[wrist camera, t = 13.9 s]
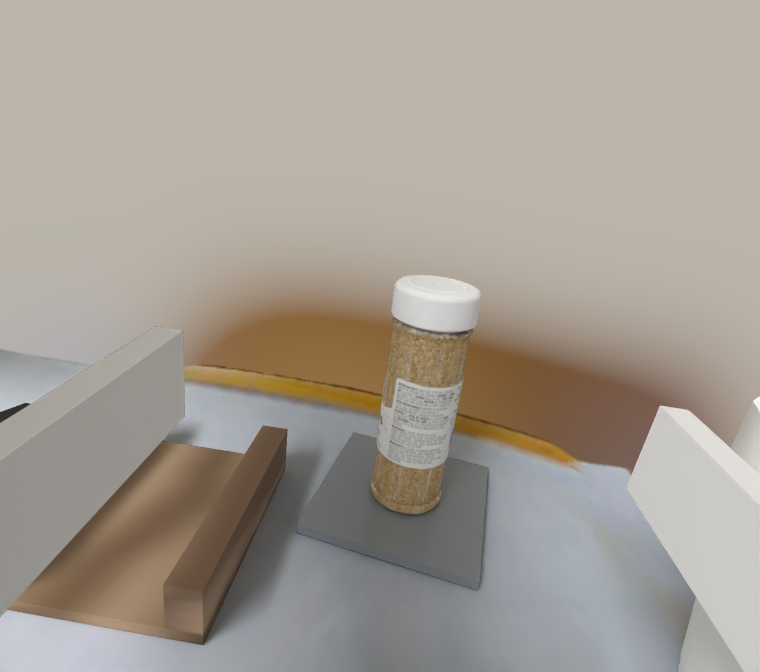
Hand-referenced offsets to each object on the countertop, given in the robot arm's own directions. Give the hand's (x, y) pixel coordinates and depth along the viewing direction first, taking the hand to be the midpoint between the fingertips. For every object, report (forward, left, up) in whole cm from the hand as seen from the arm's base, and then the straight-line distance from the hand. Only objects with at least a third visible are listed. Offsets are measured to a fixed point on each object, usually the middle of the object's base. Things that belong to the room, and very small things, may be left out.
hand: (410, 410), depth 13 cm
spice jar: (-1, +12, -13) cm, 18 cm away
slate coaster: (-1, +12, -13) cm, 18 cm away
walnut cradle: (-13, +5, -13) cm, 19 cm away
